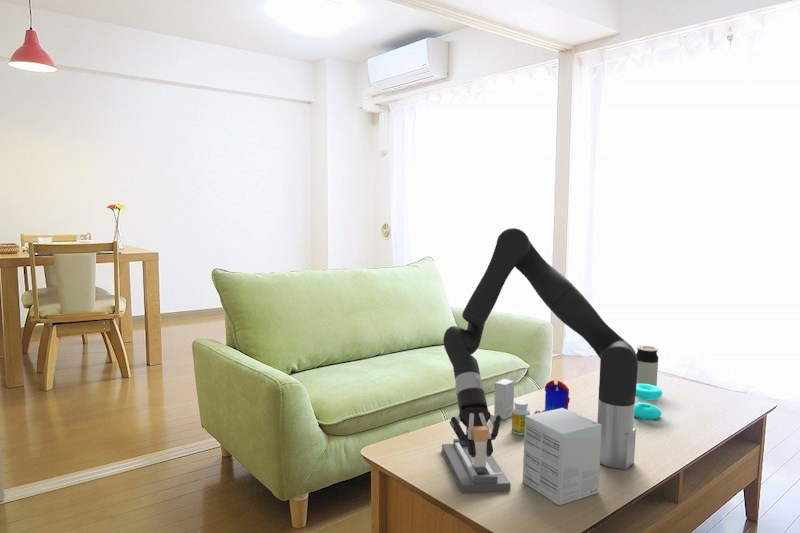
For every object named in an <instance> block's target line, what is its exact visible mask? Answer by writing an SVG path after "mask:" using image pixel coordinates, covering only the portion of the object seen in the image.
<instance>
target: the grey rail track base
mask: <svg viewBox="0 0 800 533" xmlns="http://www.w3.org/2000/svg"><path fill="white" fill-rule="evenodd" d="M472 440H473V439H472ZM441 451H442V454H443V457H444V458H445V460H446V462H447V464H448V467H449V469H450V471H451V473H452V475H453V477H454V479H455V481H456V483H457V485H458V487H459V490H460V492H461V494H477V493H478V494H479V493H493V492H494V493H496V492H497V493H498V492H510V491H511V481H510V480H509V479H508V477H507V475H506V474H505V473H504V470H502V469H501V467H500V465H499V464H498V463H497V461H496V459H495V458H494V456H493V455H492V454H491V456H490V457H487V454H486V466H485V472H482V473H476V471H475V470H474V468H473V463H472V457H471V455H469V453H468V447H467V443H466V442H465V441H460V440H459V439H458V438H453V443H442V444H441Z"/></svg>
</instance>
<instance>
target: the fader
mask: <svg viewBox="0 0 800 533" xmlns="http://www.w3.org/2000/svg"><path fill="white" fill-rule="evenodd" d="M472 434H473V438H472V439H473V440H474V445H475V451H476V456H475V457H472V463H473V468H474V470H475V471H476V473H482V472H485V466H486V452H487V441H488V429H487V428H486V426H472Z"/></svg>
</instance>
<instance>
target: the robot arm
mask: <svg viewBox="0 0 800 533" xmlns="http://www.w3.org/2000/svg"><path fill="white" fill-rule="evenodd" d="M514 269H517V271H519V272H520V274H522V275H523V276H524V277H525V279H526V280H527V281H528V282H529V283H530V285H531V287H532V288H533V289H534V291H535V292H536V294H537V295H538V297H539V298H540V299H541V300H542V301H543V303H544V305H545V306H546V307H547V308H549V309H550V310H551V312H552V313H553V314H554V316H556V318H558V319H559V320H560V321H561V322H562V323H563V324H564V325H566V326H567V327H568V328H570V329H571V330H572V331H573V332H575V333H576V334H578V335H579V336H580V337H582V338H583V339H584V340H585V342H587V343H588V345H589V347H591V348H592V350H593V351H594V352H595V353H596V354H597V356H598V358H599V359H600V360H599V364H600V365H599V380H598V381H599V384H598V399H597V400H598V404H597V420H596V421H597V423H599V424H601V425H602V426H601V447H600V464H601V465H603V466H606V467H608V468H612V469H622V470H628V469H629V468H630V467H631V466H632V465H634V464H635V454H636V452H635V450H636V436H637V434H636V432H637V430H636V429H635V428H634V423H635V421H634V420H635V416H634V408H635V403H636V396H635V395H636V386H637V371H638V361H637V356H636V353H637V352H636V350H635V349H634V347H632V345H631V344H630V343H628V342H627V341H626V340H625V339H624V338H623V337H622V336H620V335H619V334H618V333H617V332H616V331H615V330H613V329H612V328H611V327H610V326H609V325H608V324H607V322H605V321H604V320H603V318H602V317H601V316H600V314H599V313H598V312H597V310H596V309H595V308H594V307H593V306H592V304H591V303H590V302H589V301H588V300H587V298H585V296H584V295H583V293H582V292H580V291H579V290H578V288H577V287H575V285H574V284H573V283H572V282H571V281H570V280H569V279H568V278H566V277H565V276H564V274H563V275H562V273H561V272H559V270H557V269H556V268H554V266H553V265H550V264H549V263H548V262H547V261H546V260H545V259H544V258H543V256H542V255H541V254H540V253H539V252H538V250H537V249H536V248H535V246H534V245H533V244H532V242H531V241H530V239H529V236H528V235H527V233H526V232H525V231H523V230H521V229H519V228H516V227H511V228H507V229H505V230H504V231H502V232H500V234H499V235H498V237H497V239H496V245H495V248H494V249H493V254H492V256H491V259H490V261H489V263H488V266H487V268H486V269H485V272H484V274H483V276H482V278H481V279H480V281H479V282H478V284H477V286H476V288H475V289H474V291H473V293H471V294H472V295H471V296H470V298H469V300H468V301H467V304H466V306H465V307H464V310H463V311H462V319H463V320H464V321H466V322H467V329H465V328H463V327H460V326H455V325H453V326H450V327H448V328H447V329H446V331H445V332H444V333H443V334H444V335H443V346H444V349H445V352H446V355H447V357H448V359H449V361H450V363H451V365H452V368H453V369H452V370H453V374H454V380H455V383H454V385H455V395H456V399H457V405H458V410H459V414H458V416H456V417H455V416H451V419H450V420H449V424H450V426H451V428H452V429H453V431H454V433H455V435H456V437H457V439H459V440H460V441H465V442H466V443H467V447H468V453H469V455H471V457H475V456H476V451H475V445H474V440H472V438H473V434H472V426H486V428H487V429H488V441H487V452H486V454H487V457H490V456H491V455H492V454H493V453H494V448H493V441H495V440H496V438H497V437H498V435H499V430H500V423H501V420H502V419H501V417H500V416H499V415H497V416H494V415H493V414H491V412H490V410H489V407H488V404H487V398H486V394H485V389H484V383H483V380H482V376H481V373H480V368H479V363H478V360H477V358H476V357H474V355H473V354H474V353H475V352H476V351H478V349H479V346H480V344H481V341H482V337H483V332H484V328H485V324H486V321H488V319H489V316H490V315H491V313H492V311H493V309H494V307H495V305H496V303H497V300H498V298H499V296H500V294H501V292H502V290H503V288H504V286H505V283H506V281H507V279H508V277H510V274H511V272H512V271H513V270H514ZM489 420H490V422H491V425H492V430H491V432H490V428H489V425H488V423H489ZM460 424H463V425H464V427H465V428H466V430H465V431H466V432H464V429H463V428H462V426H461V425H460Z"/></svg>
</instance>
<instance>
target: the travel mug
mask: <svg viewBox="0 0 800 533" xmlns="http://www.w3.org/2000/svg"><path fill="white" fill-rule="evenodd" d="M636 349H637V352H635V353H636V356H637V361H638V371H637V384H650V385H654V386H656V387H658V371H659V370H658V368H659V355H658V351H659V348H658V347H656V346H652V345H637V346H636Z"/></svg>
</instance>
